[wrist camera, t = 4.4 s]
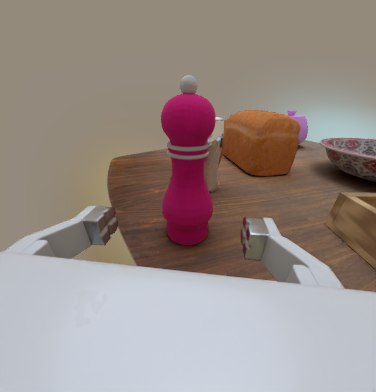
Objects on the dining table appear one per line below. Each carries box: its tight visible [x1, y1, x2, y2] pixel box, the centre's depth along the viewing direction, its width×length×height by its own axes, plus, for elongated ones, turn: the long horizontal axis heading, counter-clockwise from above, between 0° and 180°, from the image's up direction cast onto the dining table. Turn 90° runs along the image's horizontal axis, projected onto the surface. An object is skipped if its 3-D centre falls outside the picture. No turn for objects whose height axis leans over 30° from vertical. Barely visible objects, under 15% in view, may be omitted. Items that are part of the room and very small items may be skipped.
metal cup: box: [204, 117, 226, 192], centre depth 37 cm, size 7×7×15 cm
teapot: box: [287, 111, 308, 144], centre depth 78 cm, size 20×20×15 cm
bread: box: [222, 110, 301, 176], centre depth 54 cm, size 14×26×16 cm, turn 9°
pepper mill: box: [161, 76, 216, 245], centre depth 22 cm, size 7×7×20 cm
